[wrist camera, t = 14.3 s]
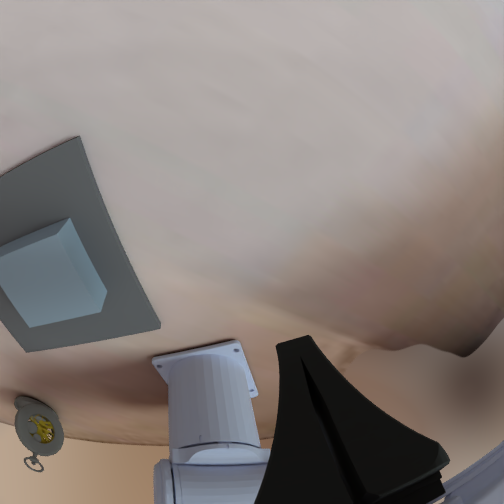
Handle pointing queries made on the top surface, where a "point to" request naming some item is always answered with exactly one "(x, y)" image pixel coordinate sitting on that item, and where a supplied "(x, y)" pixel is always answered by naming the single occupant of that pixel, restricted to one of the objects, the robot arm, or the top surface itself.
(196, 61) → the top surface
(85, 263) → the blue-grey rectangular block
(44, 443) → the pocket watch
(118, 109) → the top surface
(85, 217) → the mat
